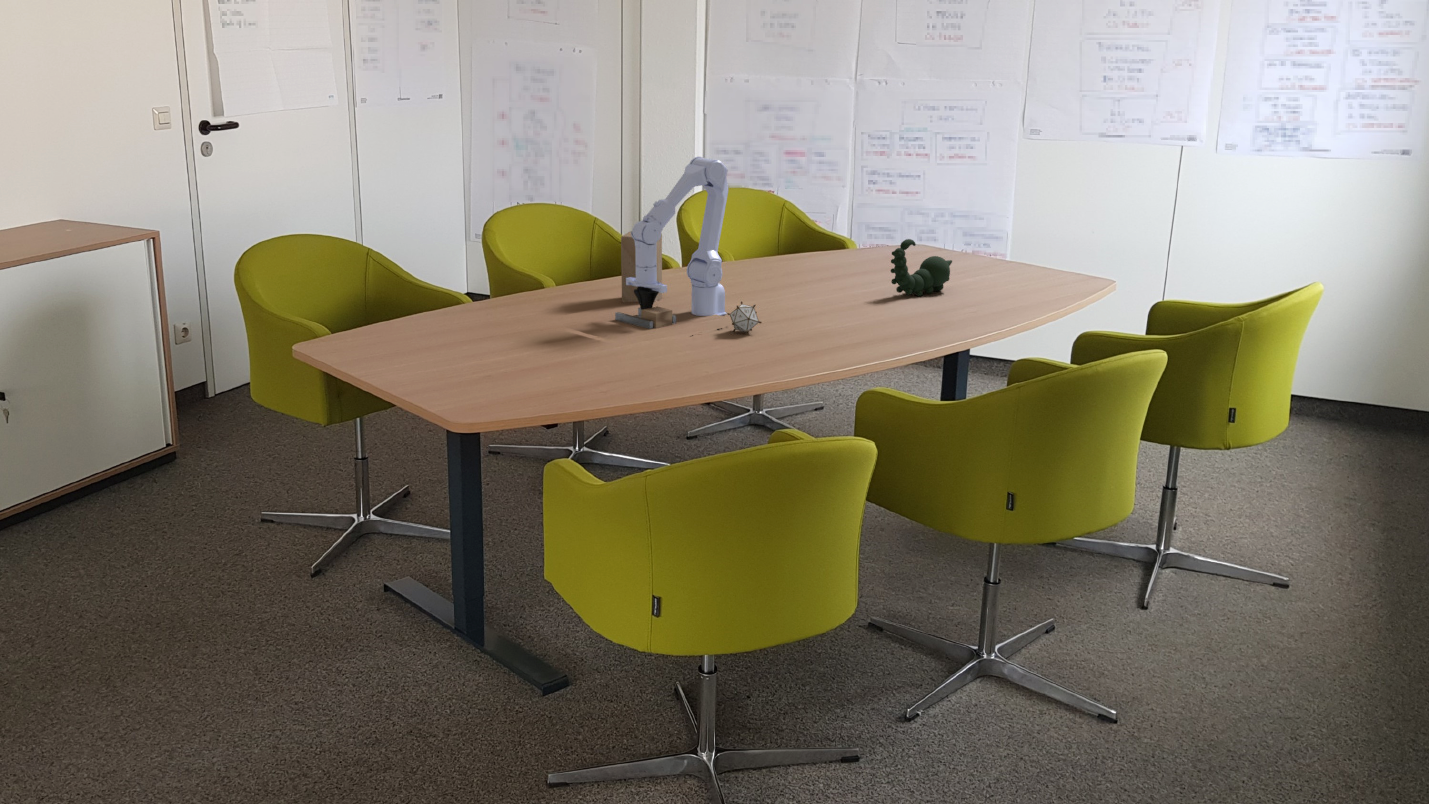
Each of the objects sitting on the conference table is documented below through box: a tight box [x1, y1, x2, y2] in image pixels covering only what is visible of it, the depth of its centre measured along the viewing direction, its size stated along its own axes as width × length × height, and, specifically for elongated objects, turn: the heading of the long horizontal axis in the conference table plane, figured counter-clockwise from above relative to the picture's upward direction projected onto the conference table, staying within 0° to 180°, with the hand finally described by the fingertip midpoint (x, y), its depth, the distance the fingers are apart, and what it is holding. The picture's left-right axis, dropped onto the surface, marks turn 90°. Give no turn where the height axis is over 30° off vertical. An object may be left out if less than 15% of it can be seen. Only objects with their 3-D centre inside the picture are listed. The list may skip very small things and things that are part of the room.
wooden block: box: [620, 230, 663, 304], centre depth 356 cm, size 10×10×20 cm
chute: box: [614, 307, 702, 333], centre depth 328 cm, size 10×24×3 cm, turn 46°
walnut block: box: [641, 306, 673, 329], centre depth 328 cm, size 6×6×4 cm
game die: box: [726, 301, 763, 336], centre depth 323 cm, size 9×8×10 cm
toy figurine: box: [890, 238, 953, 297], centre depth 371 cm, size 9×19×25 cm
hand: (646, 314), depth 331 cm, fingers closed
